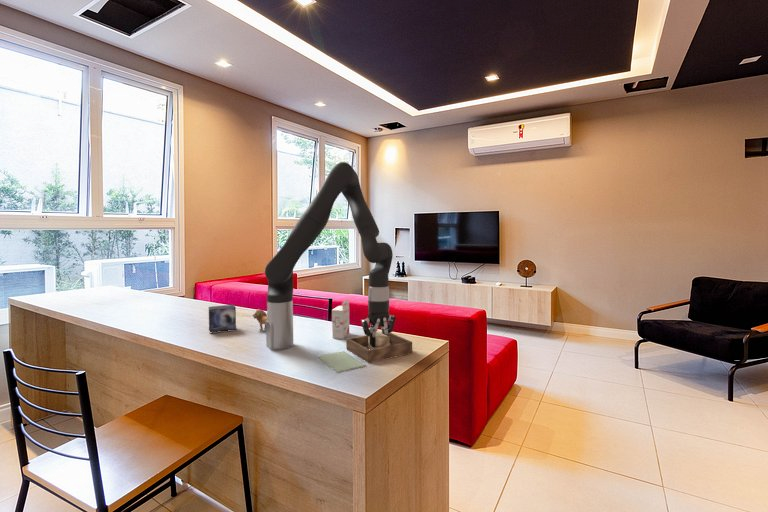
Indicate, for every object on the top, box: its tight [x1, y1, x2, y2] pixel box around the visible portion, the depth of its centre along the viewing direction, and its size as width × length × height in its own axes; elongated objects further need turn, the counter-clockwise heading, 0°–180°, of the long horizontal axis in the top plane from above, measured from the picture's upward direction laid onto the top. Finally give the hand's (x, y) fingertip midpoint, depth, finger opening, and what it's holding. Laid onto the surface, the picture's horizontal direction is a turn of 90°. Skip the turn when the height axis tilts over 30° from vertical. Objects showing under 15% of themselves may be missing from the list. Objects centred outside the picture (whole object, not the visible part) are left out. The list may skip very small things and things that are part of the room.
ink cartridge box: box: [331, 299, 350, 340], centre depth 150 cm, size 9×5×15 cm, turn 168°
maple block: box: [367, 331, 390, 349], centre depth 131 cm, size 4×8×6 cm, turn 32°
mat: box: [317, 350, 367, 373], centre depth 121 cm, size 10×16×1 cm, turn 32°
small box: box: [208, 304, 237, 333], centre depth 159 cm, size 11×6×10 cm, turn 119°
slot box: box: [345, 332, 413, 363], centre depth 131 cm, size 18×16×4 cm
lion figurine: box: [252, 308, 267, 331], centre depth 157 cm, size 15×5×9 cm, turn 51°
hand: (378, 345), depth 131 cm, fingers closed on maple block, 4 cm apart
